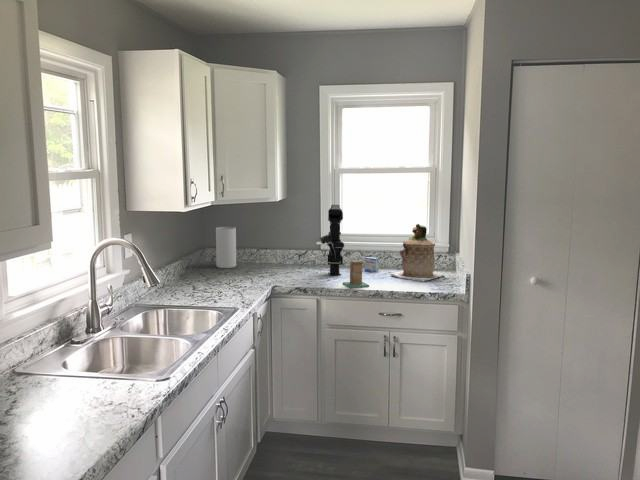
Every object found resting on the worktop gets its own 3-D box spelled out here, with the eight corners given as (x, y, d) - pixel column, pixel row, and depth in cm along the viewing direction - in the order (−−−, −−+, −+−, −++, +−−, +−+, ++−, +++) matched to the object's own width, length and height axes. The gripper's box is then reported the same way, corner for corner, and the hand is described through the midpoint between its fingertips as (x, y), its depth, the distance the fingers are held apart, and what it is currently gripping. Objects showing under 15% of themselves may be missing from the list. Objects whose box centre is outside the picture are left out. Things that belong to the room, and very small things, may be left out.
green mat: (342, 283, 304) (342, 282, 304) (360, 282, 308) (360, 280, 308) (350, 288, 294) (350, 286, 294) (369, 286, 298) (369, 285, 297)
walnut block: (349, 282, 302) (350, 260, 300) (358, 282, 304) (358, 260, 302) (353, 284, 297) (353, 262, 296) (361, 284, 299) (362, 261, 297)
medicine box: (364, 271, 340) (364, 257, 339) (366, 270, 344) (367, 256, 343) (376, 272, 336) (376, 258, 335) (378, 271, 340) (379, 257, 339)
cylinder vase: (213, 268, 346) (212, 228, 343) (220, 264, 359) (219, 226, 355) (232, 268, 344) (232, 229, 341) (238, 265, 357) (238, 227, 353)
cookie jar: (446, 276, 326) (448, 223, 322) (423, 283, 309) (425, 226, 304) (411, 270, 343) (413, 220, 339) (388, 276, 325) (389, 223, 321)
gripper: (317, 228, 318) (317, 255, 320) (325, 232, 300) (324, 260, 302) (335, 228, 320) (335, 254, 322) (344, 232, 302) (344, 260, 304)
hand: (334, 257), depth 313 cm, fingers open, 9 cm apart
